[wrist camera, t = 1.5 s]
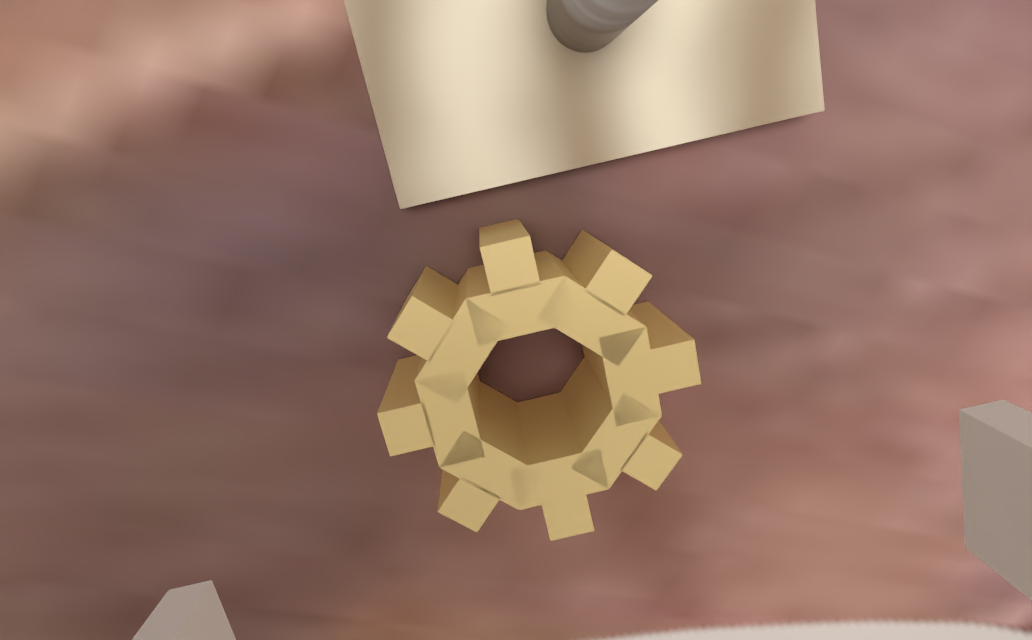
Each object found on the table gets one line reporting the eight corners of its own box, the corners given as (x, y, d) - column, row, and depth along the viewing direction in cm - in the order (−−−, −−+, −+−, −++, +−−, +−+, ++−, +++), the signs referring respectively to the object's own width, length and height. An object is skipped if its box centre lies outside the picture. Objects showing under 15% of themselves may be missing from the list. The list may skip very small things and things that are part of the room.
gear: (435, 487, 24) (424, 570, 19) (367, 253, 22) (336, 280, 17) (671, 432, 24) (719, 501, 19) (629, 192, 22) (672, 202, 17)
